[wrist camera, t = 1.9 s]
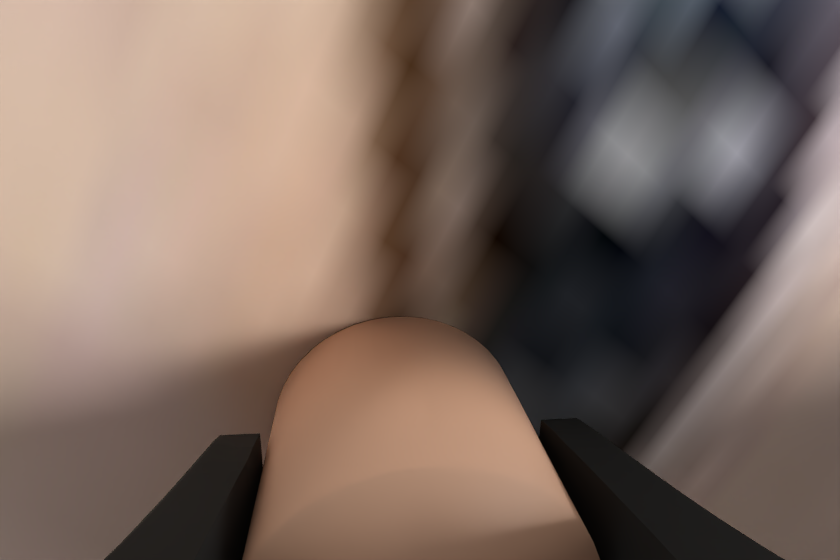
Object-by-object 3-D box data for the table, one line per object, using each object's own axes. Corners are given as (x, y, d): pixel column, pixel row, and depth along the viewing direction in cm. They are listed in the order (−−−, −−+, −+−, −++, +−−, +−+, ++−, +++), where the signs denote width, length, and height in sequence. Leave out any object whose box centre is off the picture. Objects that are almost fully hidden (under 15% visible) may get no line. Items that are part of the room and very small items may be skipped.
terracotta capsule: (556, 369, 10) (672, 532, 7) (447, 546, 12) (494, 770, 8) (333, 277, 9) (323, 412, 6) (237, 483, 10) (175, 709, 7)
